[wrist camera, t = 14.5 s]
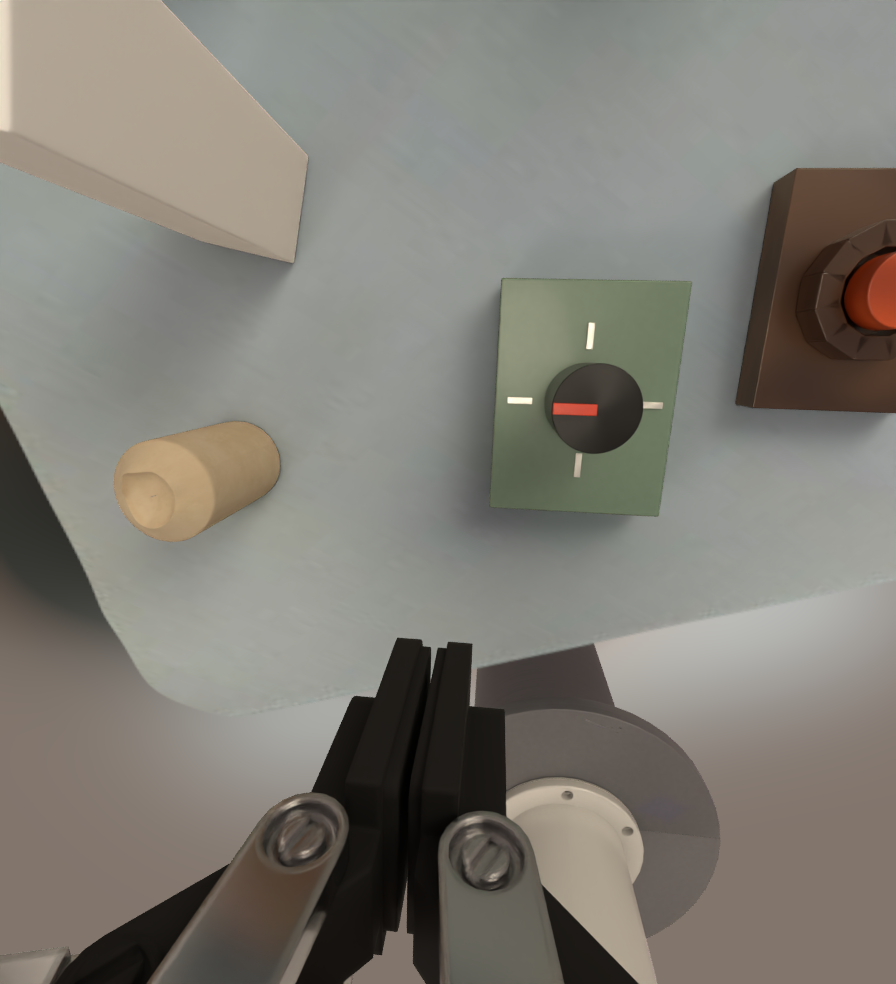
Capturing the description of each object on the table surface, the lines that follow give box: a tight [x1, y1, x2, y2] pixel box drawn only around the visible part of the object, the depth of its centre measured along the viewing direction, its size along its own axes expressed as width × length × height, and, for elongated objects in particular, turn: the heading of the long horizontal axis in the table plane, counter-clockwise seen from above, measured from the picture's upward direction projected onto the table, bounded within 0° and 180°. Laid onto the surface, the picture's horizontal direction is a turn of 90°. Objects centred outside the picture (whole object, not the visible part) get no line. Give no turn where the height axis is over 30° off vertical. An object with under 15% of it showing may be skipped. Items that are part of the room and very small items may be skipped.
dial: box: [545, 363, 643, 454], centre depth 27 cm, size 4×4×4 cm
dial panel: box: [490, 278, 692, 517], centre depth 30 cm, size 13×10×3 cm
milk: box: [0, 0, 308, 263], centre depth 20 cm, size 6×6×22 cm
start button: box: [844, 251, 896, 331], centre depth 24 cm, size 4×4×2 cm
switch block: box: [736, 168, 896, 413], centre depth 27 cm, size 12×9×4 cm
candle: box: [114, 421, 280, 542], centre depth 30 cm, size 6×6×10 cm
